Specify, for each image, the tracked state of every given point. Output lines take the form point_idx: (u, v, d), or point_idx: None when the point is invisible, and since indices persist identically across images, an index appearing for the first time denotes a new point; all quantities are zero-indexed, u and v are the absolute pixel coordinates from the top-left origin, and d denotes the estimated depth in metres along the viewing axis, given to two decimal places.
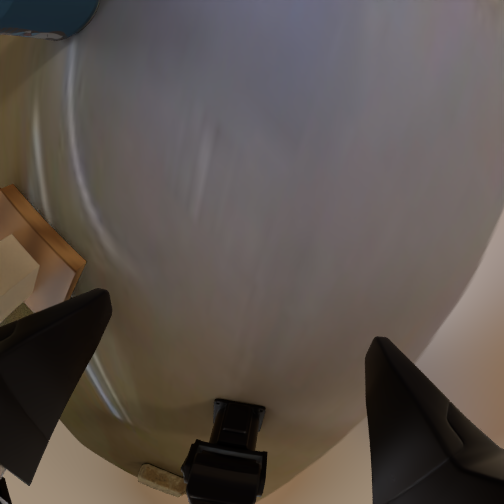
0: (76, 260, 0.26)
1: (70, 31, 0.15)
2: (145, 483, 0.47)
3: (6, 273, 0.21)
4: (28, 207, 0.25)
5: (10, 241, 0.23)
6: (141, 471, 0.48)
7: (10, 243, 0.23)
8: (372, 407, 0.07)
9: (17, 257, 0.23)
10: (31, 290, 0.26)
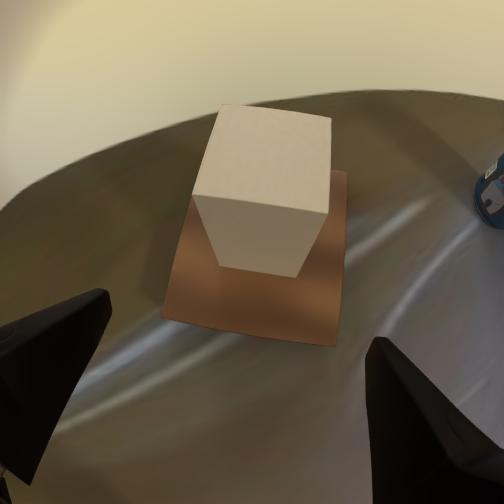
0: None
1: (494, 220, 0.23)
2: None
3: None
4: None
5: None
6: None
7: None
8: (372, 407, 0.07)
9: None
10: (234, 266, 0.20)
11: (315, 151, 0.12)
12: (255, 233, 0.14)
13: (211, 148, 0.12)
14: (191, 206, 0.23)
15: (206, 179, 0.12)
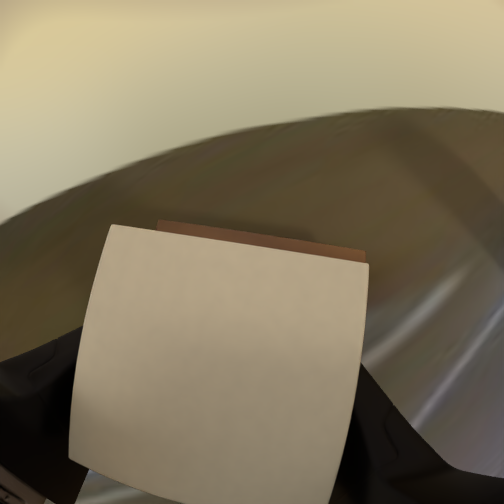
0: None
1: None
2: None
3: None
4: None
5: None
6: None
7: None
8: None
9: None
10: None
11: (320, 385, 0.05)
12: None
13: (85, 363, 0.05)
14: None
15: (85, 439, 0.04)
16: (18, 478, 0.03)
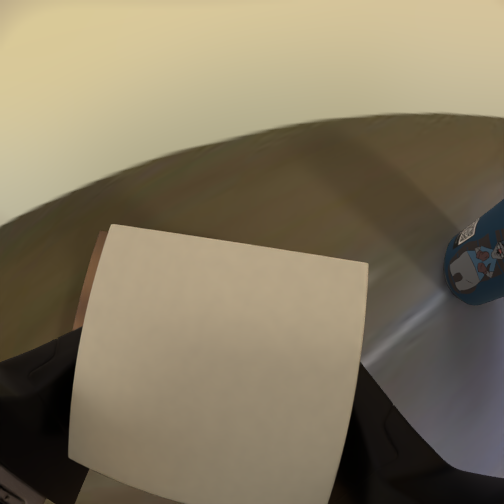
0: None
1: (464, 297, 0.19)
2: None
3: None
4: None
5: None
6: None
7: None
8: None
9: None
10: None
11: (319, 384, 0.05)
12: None
13: (85, 363, 0.05)
14: (82, 297, 0.19)
15: (84, 438, 0.04)
16: (18, 478, 0.03)
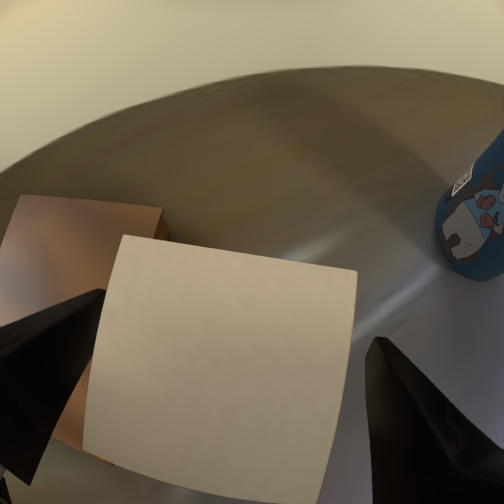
0: None
1: (465, 269, 0.14)
2: None
3: None
4: None
5: None
6: None
7: None
8: (372, 407, 0.07)
9: None
10: None
11: (311, 380, 0.05)
12: None
13: (100, 361, 0.06)
14: None
15: (98, 431, 0.05)
16: None
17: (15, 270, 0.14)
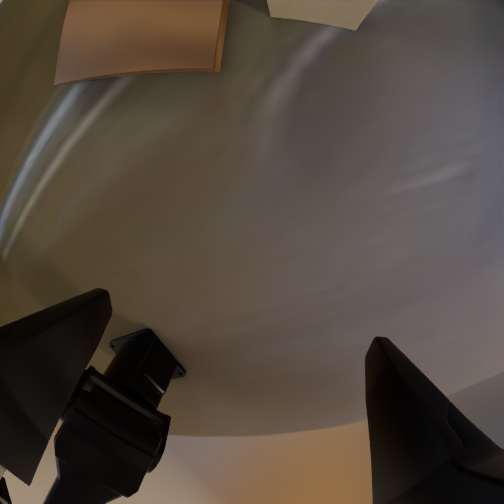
0: (218, 57, 0.15)
1: None
2: None
3: None
4: None
5: None
6: None
7: None
8: (372, 407, 0.07)
9: None
10: (287, 16, 0.13)
11: None
12: None
13: None
14: None
15: None
16: None
17: None
